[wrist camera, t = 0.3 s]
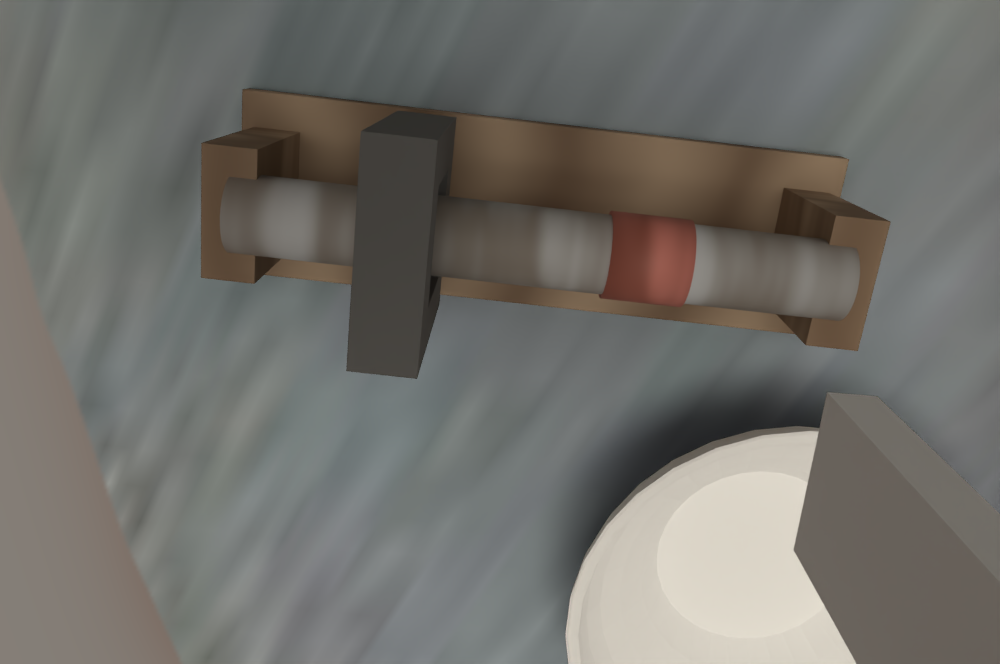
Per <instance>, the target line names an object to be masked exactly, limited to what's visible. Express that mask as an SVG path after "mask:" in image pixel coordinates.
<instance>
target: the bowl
mask: <svg viewBox="0 0 1000 664" xmlns="http://www.w3.org/2000/svg"><path fill="white" fill-rule="evenodd" d="M818 433H819V428H814V427H803V426H792V427H782V428H771V429H760V430H752V431H749V432H745V433H741V434H738V435H734V436H731V437H727V438H723V439H720V440H716V441H712V442H710V443H708V444H706V445H704V446H702V447H699V448H697V449H695V450H693V451H691V452H689V453H687V454H685V455H683V456H680V457H678V458H676V459H674V460H672V461H671V462H670V463H668V464H667V465H665V466H664V467H663V468H661V469H660V470H658V471H657V472H656V473H654V474H653V475H651V476H650V477H649V478H647V479H646V480H644V481H643V482H642V483H640V484H639V485H638V486H637V487H636V488H635V489H634V490H633V491H632V492H631V493H630V494H629V495H628V496H627V498H626V499H625V500H624V501H623V502H622V503H621V504H620V505H619V506H618V507H617V508H616V509H615V510H614V511H613V512H612V513H611V515H610V516H609V518H608V519H607V521H606V522H605V524H604V525H603V527H602V528H601V530H600V532H599V533H598V535H597V536H596V538H595V539H594V541H593V543H592V544H591V546H590V547H589V549H588V550H587V552H586V554H585V556H584V559H583V562H582V564H581V567H580V570H579V573H578V575H577V578H576V581H575V583H574V586H573V589H572V593H571V597H570V603H569V611H568V618H567V626H566V634H565V636H566V645H567V655H568V664H856V662H855V660H854V658H853V656H852V655H851V653H850V651H849V649H848V647H847V646H846V644H845V642H844V640H843V638H842V637H841V635H840V633H839V631H838V629H837V628H836V626H835V624H834V622H833V620H832V619H831V617H830V615H829V613H828V611H827V610H826V608H825V606H824V604H823V602H822V601H821V599H820V597H819V595H818V593H817V592H816V590H815V588H814V586H813V584H812V583H811V581H810V579H809V577H808V575H807V574H806V572H805V570H804V568H803V566H802V564H801V563H800V561H799V559H798V557H797V555H796V554H795V552H794V545H795V540H796V536H797V531H798V526H799V522H800V517H801V512H802V508H803V503H804V498H805V493H806V489H807V484H808V479H809V475H810V470H811V465H812V461H813V456H814V451H815V447H816V442H817V437H818Z"/></svg>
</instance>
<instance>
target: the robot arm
mask: <svg viewBox="0 0 1000 664" xmlns="http://www.w3.org/2000/svg"><path fill="white" fill-rule="evenodd" d="M794 552H795V554H796V555H797V557H798V559H799V561H800V563H801V564H802V566H803V568H804V570H805V572H806V574H807V575H808V577H809V579H810V581H811V583H812V584H813V586H814V588H815V590H816V592H817V593H818V595H819V597H820V599H821V601H822V602H823V604H824V606H825V608H826V610H827V611H828V613H829V615H830V617H831V619H832V620H833V622H834V624H835V626H836V628H837V629H838V631H839V633H840V635H841V637H842V638H843V640H844V642H845V644H846V646H847V647H848V649H849V651H850V653H851V655H852V656H853V658H854V660H855V662H856V664H1000V514H999V513H998V512H997V511H996V510H995V509H994V508H993V507H992V506H991V505H990V504H989V503H988V502H987V501H986V500H985V499H984V498H982V497H981V496H980V495H979V494H978V493H977V492H976V491H975V490H974V489H973V488H972V487H971V486H970V485H969V484H968V483H967V482H966V481H965V480H964V479H963V478H962V477H961V476H960V475H959V474H957V473H956V472H955V471H954V470H953V469H952V468H951V467H950V466H949V465H948V464H947V463H946V462H945V461H944V460H943V459H942V458H941V457H940V456H939V455H938V454H937V453H936V452H935V451H934V450H933V449H931V448H930V447H929V446H928V445H927V444H926V443H925V442H924V441H923V440H922V439H921V438H920V437H919V436H918V435H917V434H916V433H915V432H914V431H913V430H912V429H911V428H910V427H909V426H908V425H906V424H905V423H904V422H903V421H902V420H901V419H900V418H899V417H898V416H897V415H896V414H895V413H894V412H893V411H892V410H891V409H890V408H889V407H888V406H887V405H886V404H885V403H884V402H883V401H882V400H880V399H879V398H878V397H877V396H868V395H856V394H844V393H832V392H827V395H826V400H825V404H824V409H823V414H822V419H821V423H820V428H819V433H818V437H817V442H816V447H815V451H814V456H813V461H812V465H811V470H810V475H809V479H808V484H807V489H806V493H805V498H804V503H803V508H802V512H801V517H800V522H799V526H798V531H797V536H796V540H795V545H794Z"/></svg>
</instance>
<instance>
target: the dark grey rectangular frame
mask: <svg viewBox="0 0 1000 664" xmlns="http://www.w3.org/2000/svg"><path fill="white" fill-rule="evenodd" d="M456 118H457V117H450V116H442V115H433V114H424V113H416V112H407V111H396V112H394V113H393V114H391V115H389V116H387V117H385V118H384V119H382V120H380V121H378V122H376V123H375V124H373V125H371V126H369V127H367V128H365V129H364V130H362V131H361V135H360V151H359V168H358V185H357V202H356V219H355V235H354V252H353V269H352V286H351V303H350V319H349V336H348V353H347V370H346V371H351V372H360V373H369V374H379V375H388V376H397V377H406V378H415V379H417V377H418V374H419V370H420V367H421V363H422V360H423V357H424V353H425V350H426V347H427V343H428V340H429V337H430V333H431V330H432V327H433V323H434V320H435V316H436V313H437V310H438V306H439V301H440V290H441V279H442V277H440V276H432V275H431V269H432V258H433V246H434V235H435V224H436V213H437V201H438V195H442V196H449V193H450V182H451V172H452V161H453V150H454V139H455V129H456Z"/></svg>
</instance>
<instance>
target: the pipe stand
mask: <svg viewBox="0 0 1000 664" xmlns="http://www.w3.org/2000/svg"><path fill="white" fill-rule="evenodd" d="M396 111H407V112H416V113H424V114H433V115H442V116H450V117H457V118H456V129H455V139H454V150H453V161H452V172H451V182H450V193H449V196H442V195H438V201H437V213H436V224H435V235H434V246H433V258H432V269H431V275H432V276H440V277H442V279H441V290H440V294H441V295H450V296H459V297H468V298H477V299H486V300H494V301H503V302H512V303H521V304H530V305H539V306H548V307H557V308H566V309H575V310H584V311H593V312H602V313H611V314H620V315H629V316H638V317H647V318H656V319H665V320H674V321H683V322H692V323H700V324H709V325H718V326H727V327H736V328H745V329H754V330H763V331H772V332H781V333H790V334H796V335H797V336H798V338H799V339H800V340H801V341H802V342H803V343H804V344H805V345H809V346H818V347H827V348H836V349H845V350H854V351H858V348H859V344H860V340H861V336H862V332H863V328H864V324H865V320H866V316H867V312H868V308H869V304H870V301H871V297H872V293H873V289H874V285H875V281H876V277H877V273H878V269H879V265H880V261H881V257H882V253H883V249H884V246H885V242H886V238H887V234H888V230H889V226H890V221H888V220H886V219H884V218H881V217H879V216H877V215H875V214H873V213H871V212H869V211H867V210H865V209H862V208H860V207H858V206H856V205H854V204H852V203H850V202H848V201H845V200H843V199H841V198H840V196H841V191H842V187H843V183H844V179H845V174H846V170H847V166H848V162H849V159H846V158H843V157H840V156H831V155H822V154H814V153H805V152H796V151H788V150H779V149H770V148H762V147H753V146H744V145H736V144H727V143H718V142H710V141H701V140H692V139H684V138H675V137H666V136H658V135H649V134H640V133H632V132H623V131H614V130H606V129H597V128H588V127H580V126H571V125H562V124H554V123H545V122H536V121H528V120H519V119H510V118H502V117H493V116H484V115H476V114H467V113H458V112H450V111H441V110H432V109H424V108H415V107H406V106H398V105H389V104H380V103H372V102H363V101H354V100H346V99H337V98H328V97H320V96H311V95H302V94H294V93H285V92H276V91H268V90H259V89H250V88H249V89H243V92H242V131H239V132H236V133H232V134H229V135H226V136H223V137H220V138H216V139H213V140H210V141H207V142H204V143H202V170H201V278H208V279H217V280H226V281H235V282H244V283H253V284H254V283H256V282H257V281H258V280H259V279H260V278H261V277H262V276H263V275H271V276H280V277H289V278H297V279H306V280H315V281H324V282H333V283H342V284H351V285H352V269H353V252H354V235H355V219H356V202H357V185H358V168H359V151H360V135H361V131H362V130H364V129H365V128H367V127H369V126H371V125H373V124H375V123H376V122H378V121H380V120H382V119H384V118H385V117H387V116H389V115H391V114H393V113H394V112H396Z"/></svg>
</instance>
